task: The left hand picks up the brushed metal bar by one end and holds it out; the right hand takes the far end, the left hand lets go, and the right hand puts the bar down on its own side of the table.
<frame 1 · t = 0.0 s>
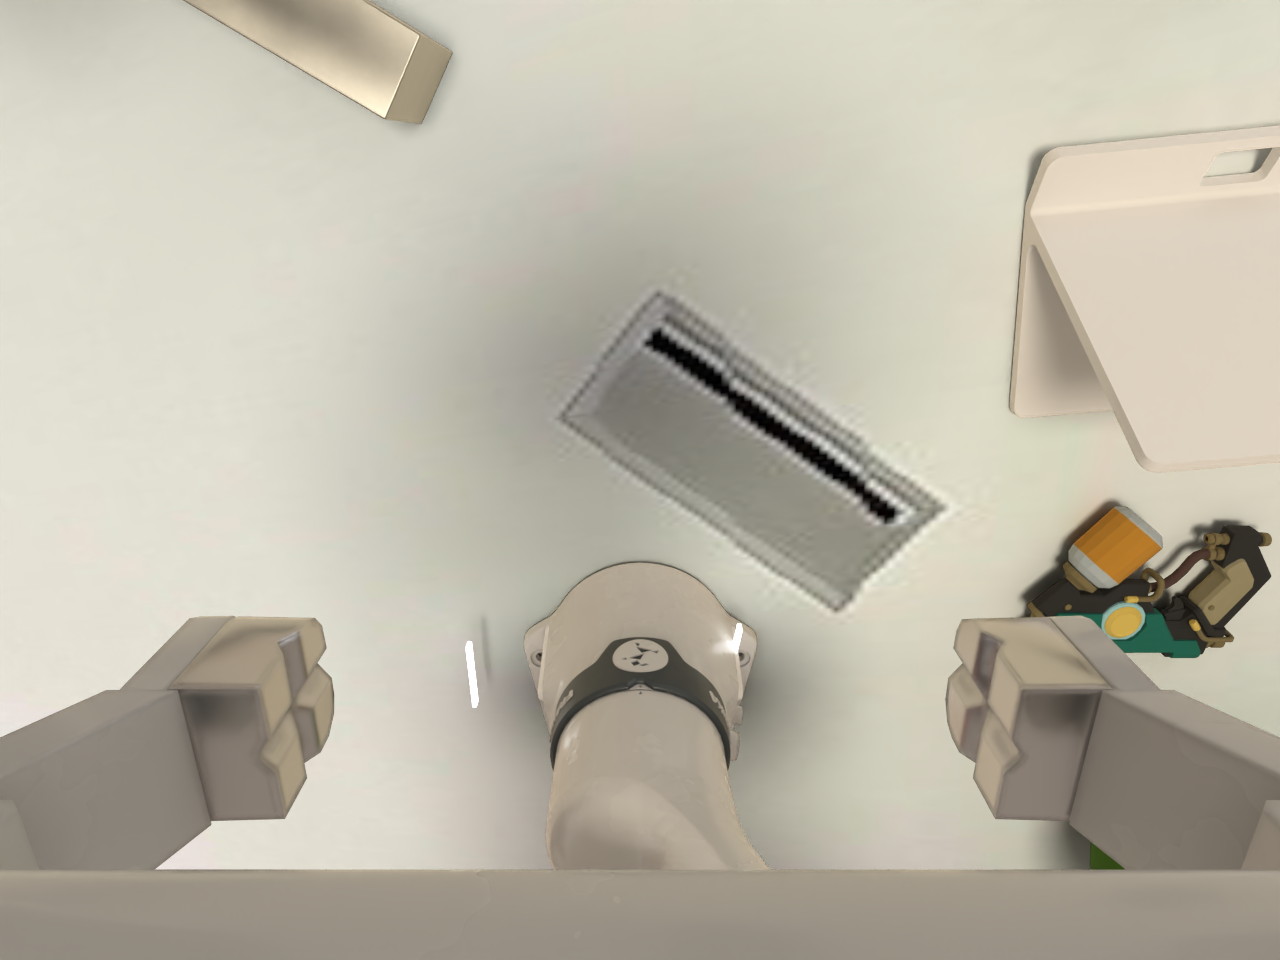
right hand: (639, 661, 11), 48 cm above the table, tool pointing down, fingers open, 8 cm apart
vase: (1142, 802, 73), on the table
spray gun: (1132, 584, 65), on the table
tablet stand: (1202, 272, 56), on the table
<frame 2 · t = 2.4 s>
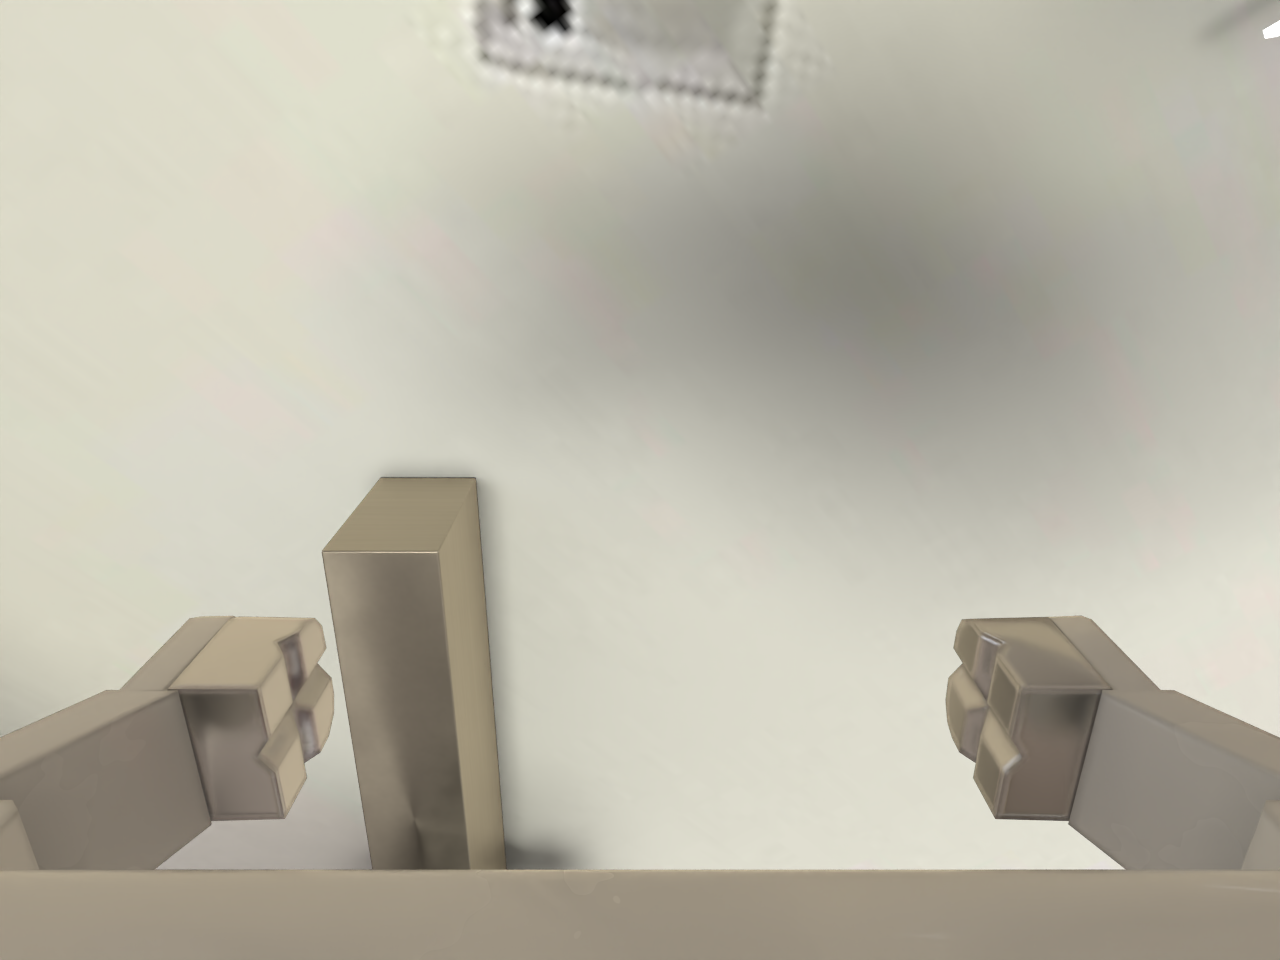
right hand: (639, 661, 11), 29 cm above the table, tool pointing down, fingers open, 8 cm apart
bar: (451, 710, 46), on the table, touching left hand
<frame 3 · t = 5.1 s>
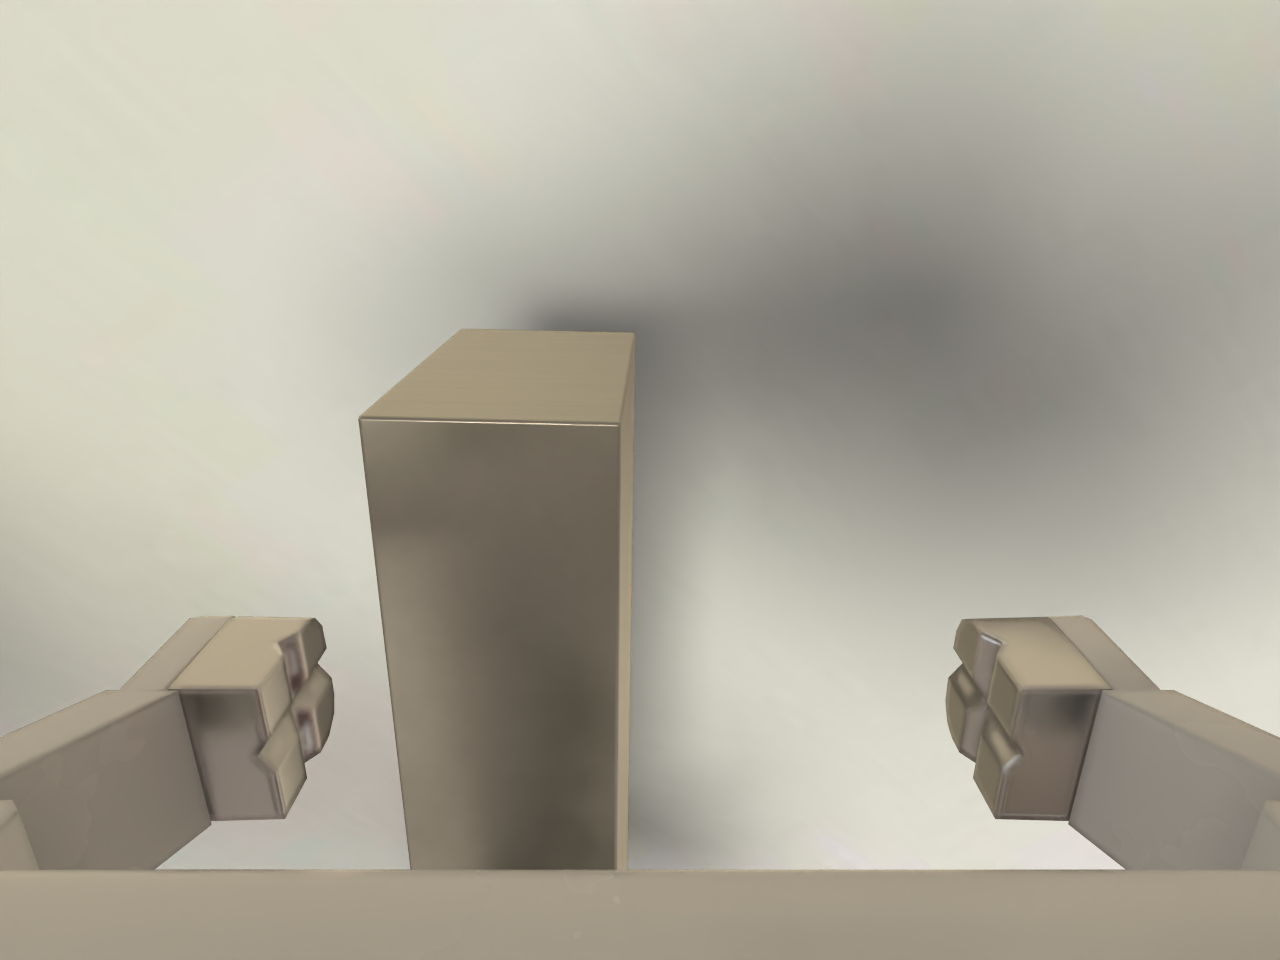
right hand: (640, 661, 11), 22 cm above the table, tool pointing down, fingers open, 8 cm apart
bar: (558, 748, 27), point 10 cm above the table, touching left hand
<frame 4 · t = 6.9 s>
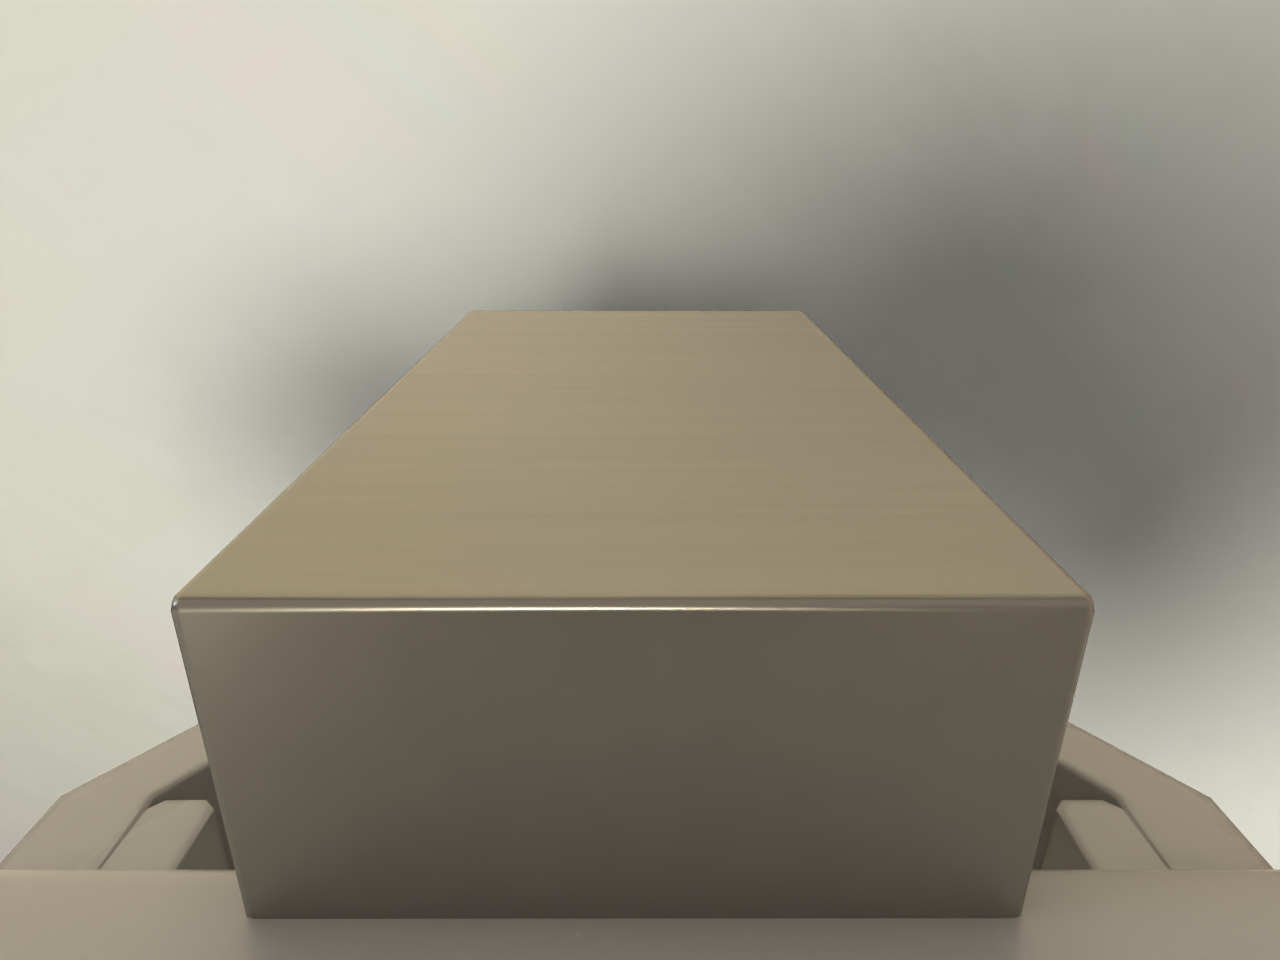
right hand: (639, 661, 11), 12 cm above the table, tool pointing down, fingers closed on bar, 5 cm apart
when the left hand's fingers open (13 cm above the table, at t = 8.0 s): bar stays where it is, held by the right hand.
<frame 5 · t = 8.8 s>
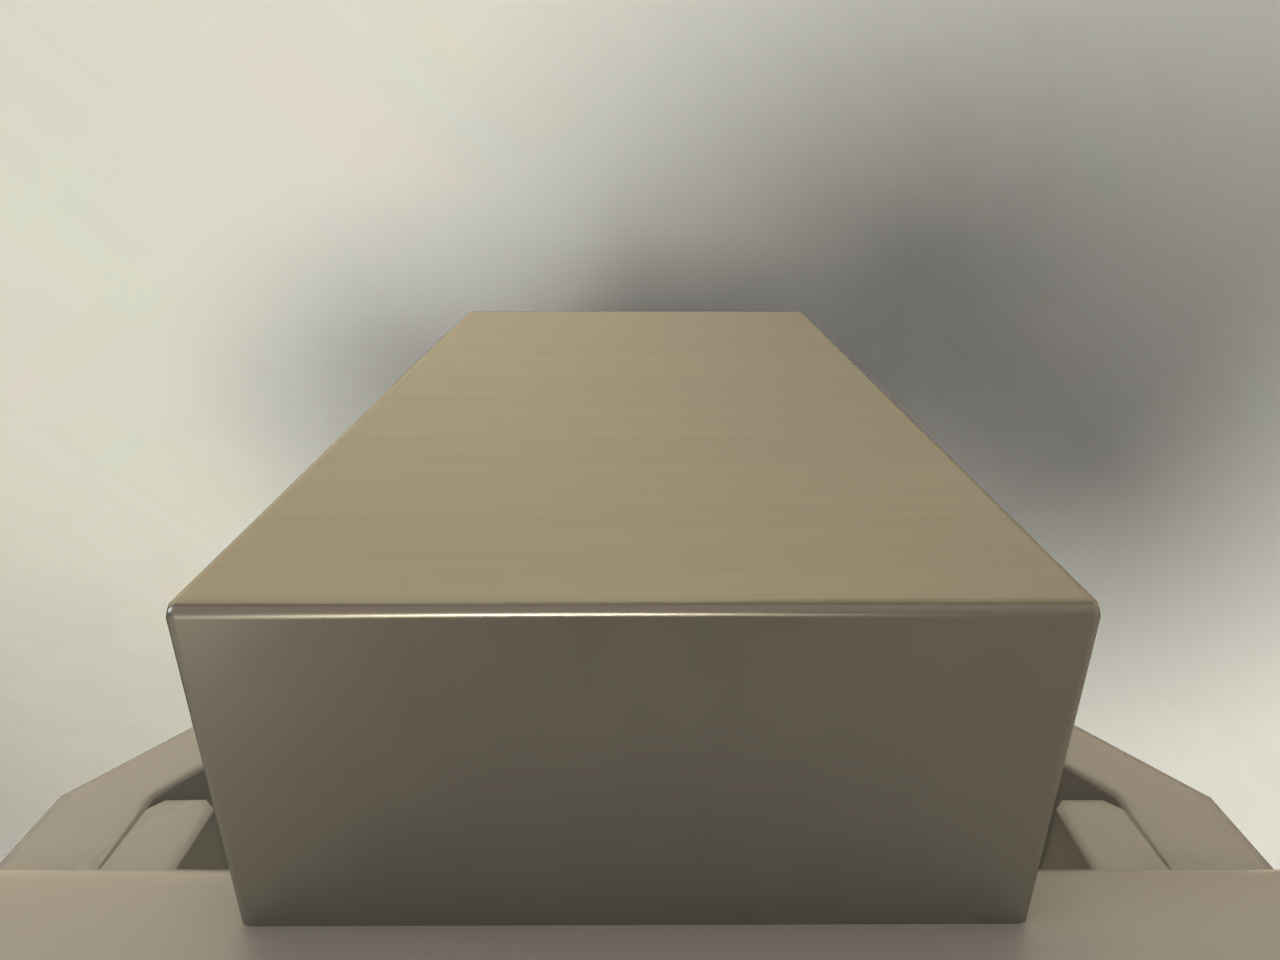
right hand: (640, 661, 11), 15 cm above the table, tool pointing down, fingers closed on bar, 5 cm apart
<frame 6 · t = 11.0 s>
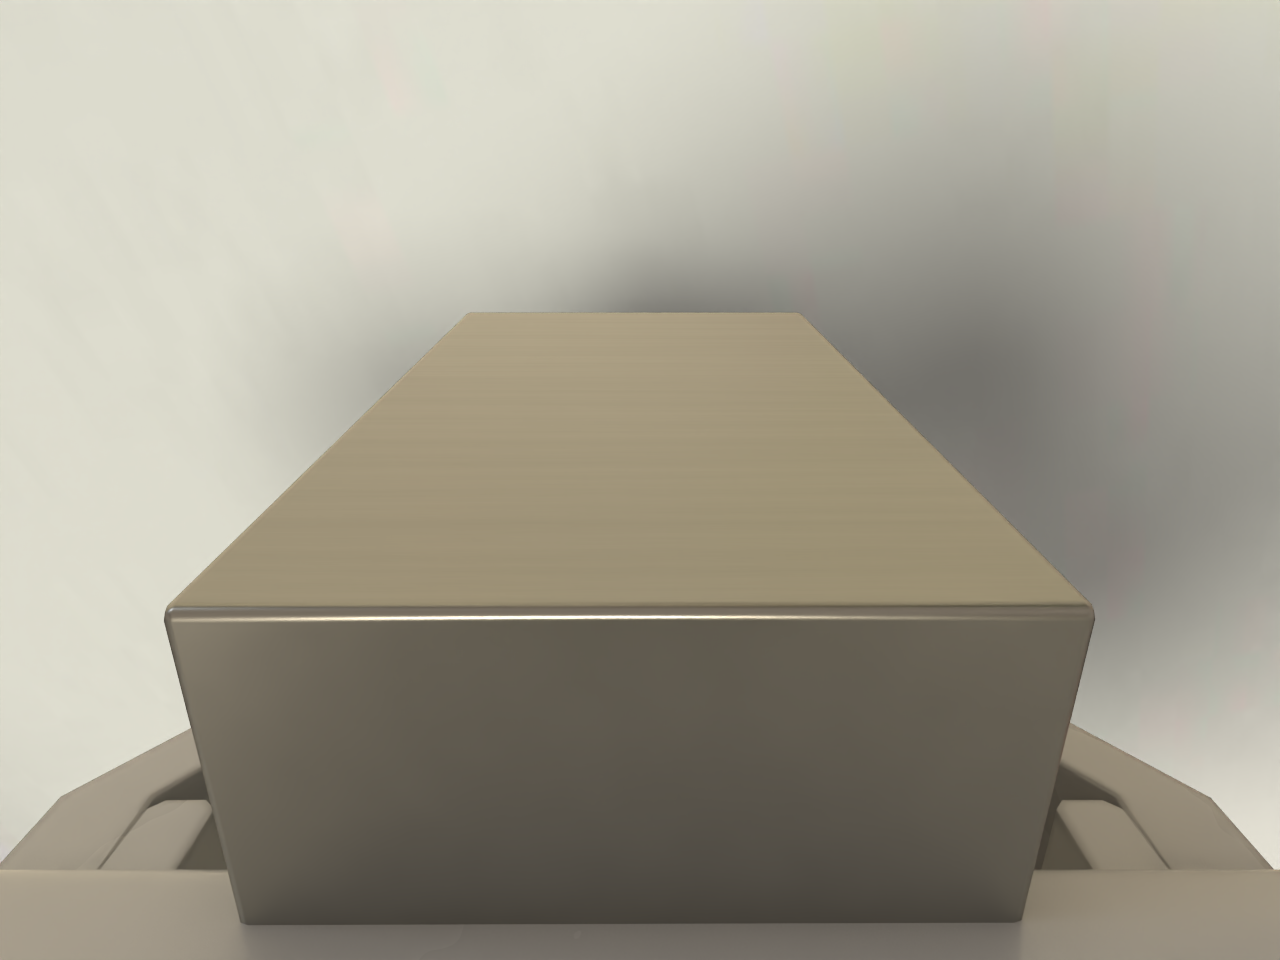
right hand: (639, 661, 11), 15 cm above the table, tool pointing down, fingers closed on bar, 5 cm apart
when the right hand's fingers open (4 cm above the table, at t = 15.2 s): bar stays where it is, on the table.
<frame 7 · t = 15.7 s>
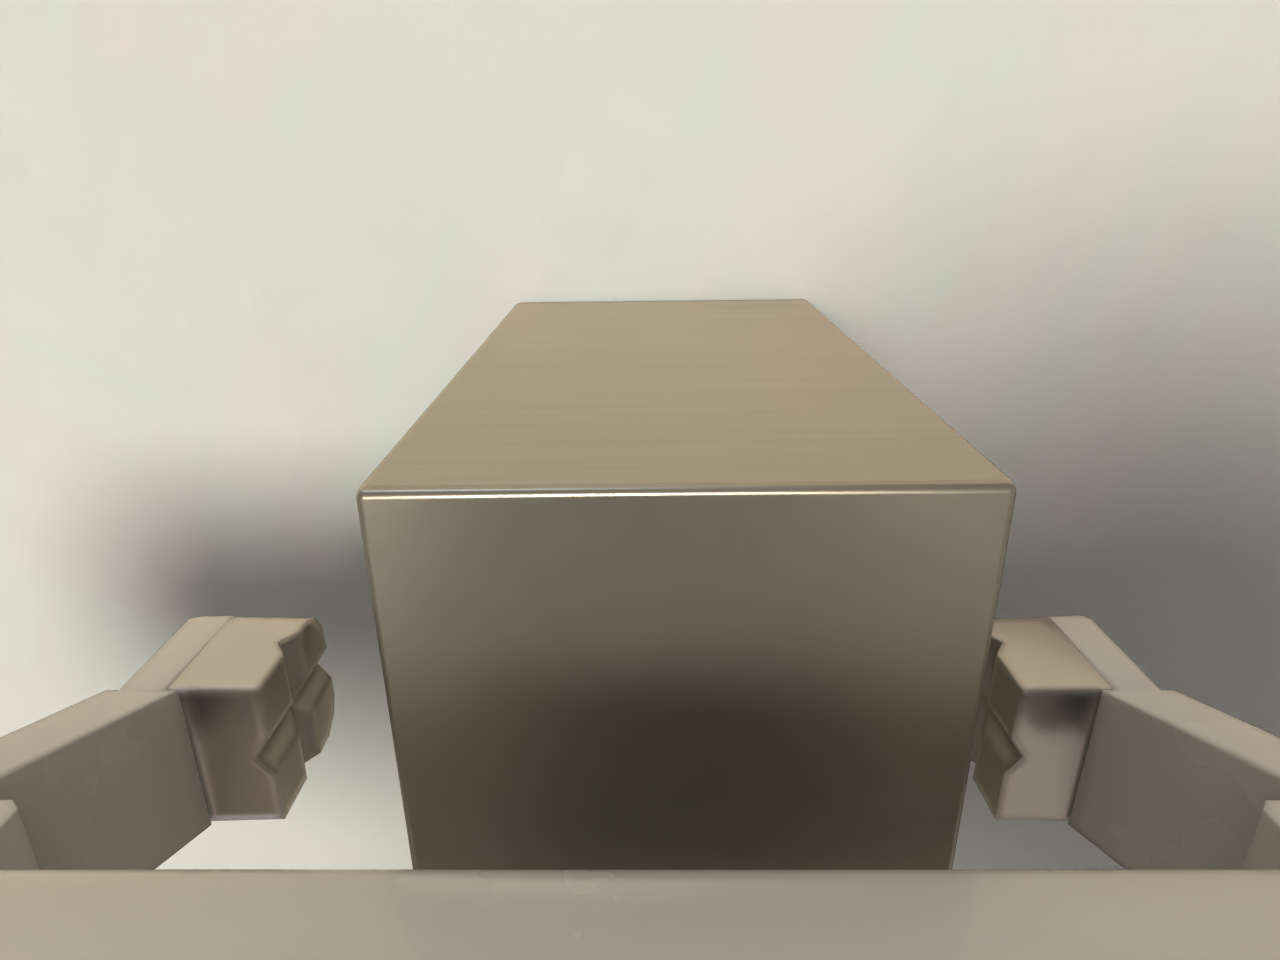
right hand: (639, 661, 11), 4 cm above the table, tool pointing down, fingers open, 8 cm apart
bar: (663, 927, 18), on the table
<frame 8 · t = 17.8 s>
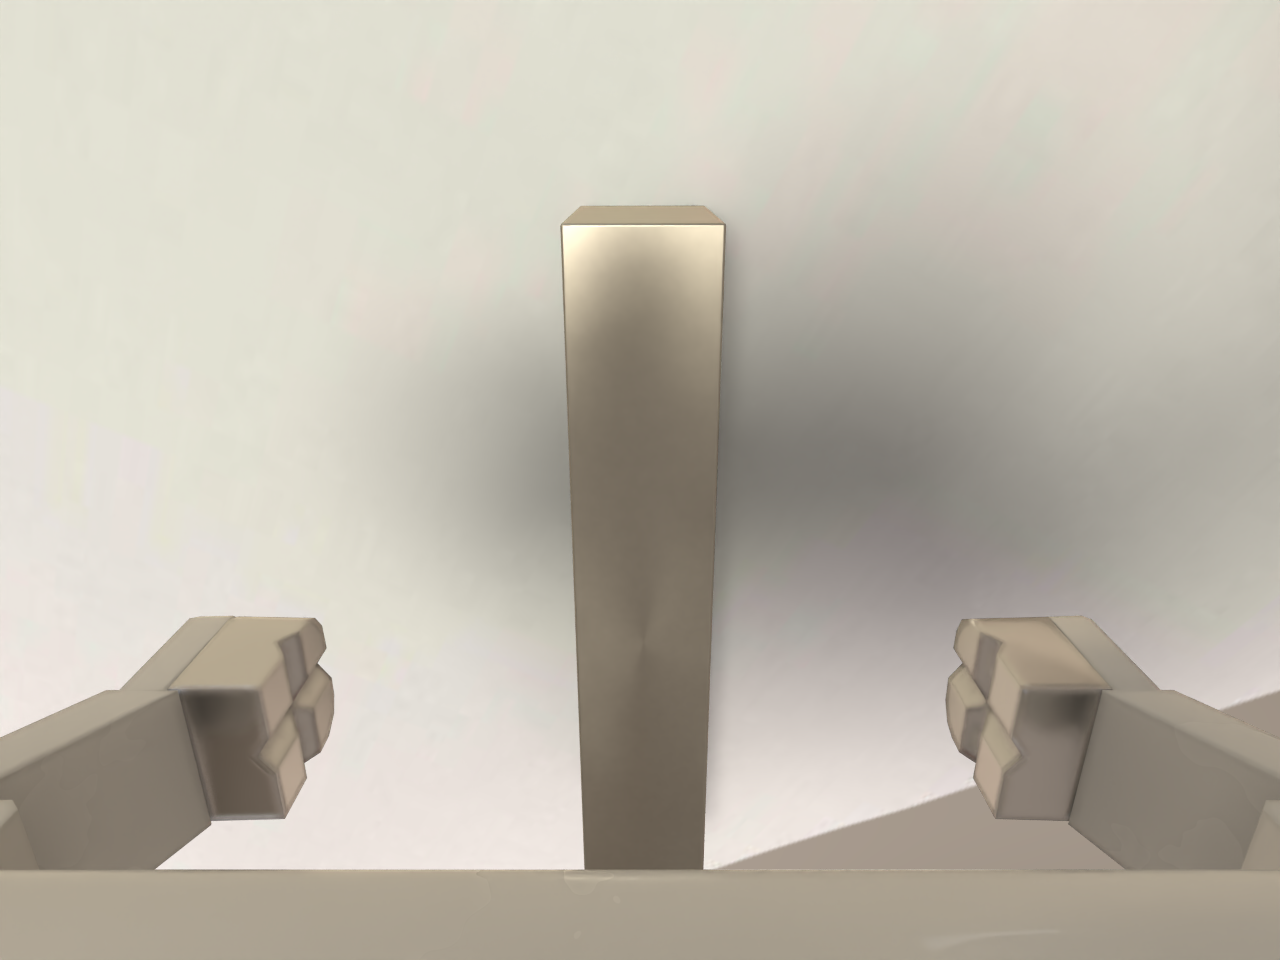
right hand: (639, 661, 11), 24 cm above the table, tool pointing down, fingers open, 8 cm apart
bar: (643, 539, 36), on the table
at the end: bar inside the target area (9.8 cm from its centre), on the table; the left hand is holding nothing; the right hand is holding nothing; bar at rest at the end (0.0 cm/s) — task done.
